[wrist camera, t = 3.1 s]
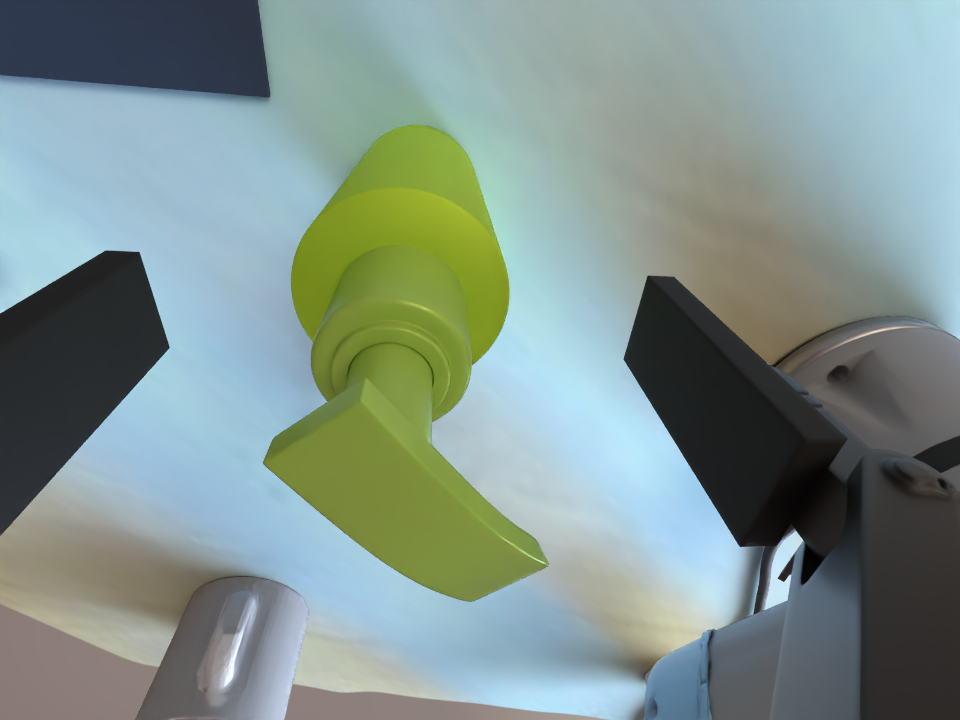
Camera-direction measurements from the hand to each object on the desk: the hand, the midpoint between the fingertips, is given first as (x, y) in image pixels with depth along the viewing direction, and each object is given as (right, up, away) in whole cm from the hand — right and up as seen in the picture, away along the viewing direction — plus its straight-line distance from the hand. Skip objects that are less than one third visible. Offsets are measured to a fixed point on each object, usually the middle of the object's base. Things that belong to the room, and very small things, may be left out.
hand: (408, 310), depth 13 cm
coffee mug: (-18, -22, +29) cm, 40 cm away
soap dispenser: (-1, +7, +11) cm, 14 cm away
